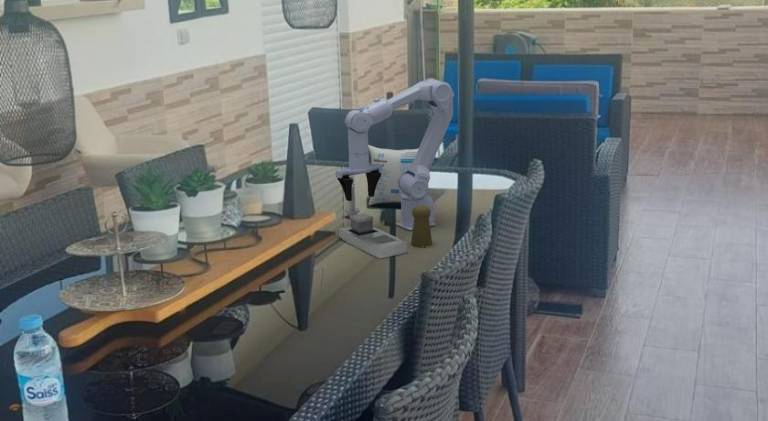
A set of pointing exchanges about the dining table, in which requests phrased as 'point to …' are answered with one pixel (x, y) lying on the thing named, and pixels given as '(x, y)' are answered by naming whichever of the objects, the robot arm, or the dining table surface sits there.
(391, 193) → the pouch
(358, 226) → the grey rectangular block
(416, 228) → the cork
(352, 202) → the screw
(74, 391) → the dining table surface
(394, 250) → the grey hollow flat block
